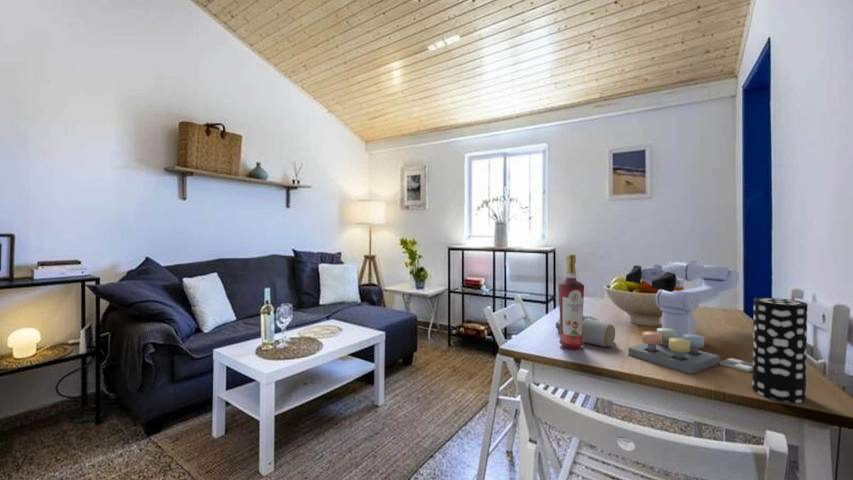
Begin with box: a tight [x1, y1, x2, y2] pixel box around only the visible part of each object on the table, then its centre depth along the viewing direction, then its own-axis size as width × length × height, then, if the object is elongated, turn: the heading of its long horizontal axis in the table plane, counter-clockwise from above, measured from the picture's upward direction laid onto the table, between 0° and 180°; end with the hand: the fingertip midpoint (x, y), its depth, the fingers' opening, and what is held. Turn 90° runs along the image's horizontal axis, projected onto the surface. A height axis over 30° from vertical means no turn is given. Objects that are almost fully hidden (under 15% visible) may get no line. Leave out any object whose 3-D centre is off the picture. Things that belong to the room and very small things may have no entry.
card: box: [719, 357, 753, 373], centre depth 96 cm, size 6×6×1 cm
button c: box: [641, 330, 662, 352], centre depth 103 cm, size 5×5×5 cm
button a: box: [656, 327, 676, 348], centre depth 106 cm, size 5×5×5 cm
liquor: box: [557, 254, 585, 350], centre depth 112 cm, size 7×7×28 cm
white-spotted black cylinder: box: [751, 297, 809, 404], centre depth 80 cm, size 8×8×20 cm
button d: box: [669, 338, 690, 360], centre depth 97 cm, size 5×5×5 cm
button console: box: [628, 342, 720, 375], centre depth 101 cm, size 14×16×2 cm
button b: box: [683, 333, 705, 355], centre depth 100 cm, size 5×5×5 cm
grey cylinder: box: [582, 318, 616, 348], centre depth 116 cm, size 11×8×8 cm
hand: (639, 281), depth 108 cm, fingers open, 7 cm apart
